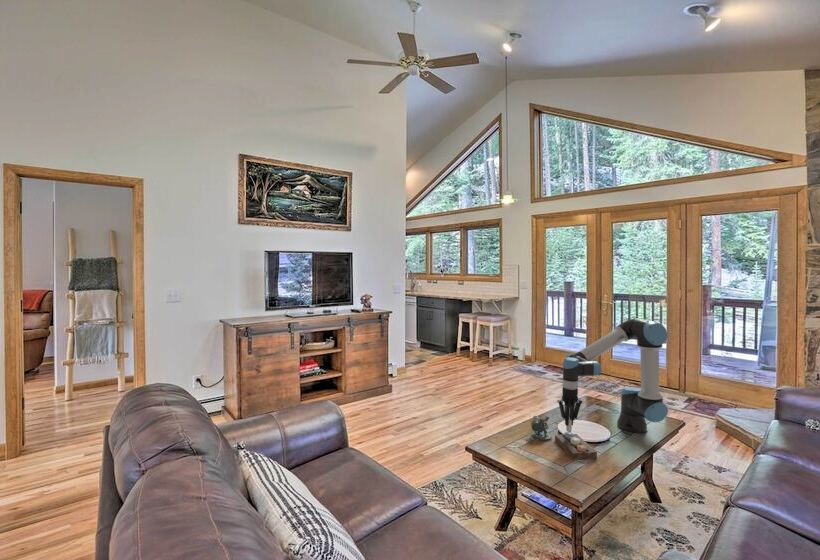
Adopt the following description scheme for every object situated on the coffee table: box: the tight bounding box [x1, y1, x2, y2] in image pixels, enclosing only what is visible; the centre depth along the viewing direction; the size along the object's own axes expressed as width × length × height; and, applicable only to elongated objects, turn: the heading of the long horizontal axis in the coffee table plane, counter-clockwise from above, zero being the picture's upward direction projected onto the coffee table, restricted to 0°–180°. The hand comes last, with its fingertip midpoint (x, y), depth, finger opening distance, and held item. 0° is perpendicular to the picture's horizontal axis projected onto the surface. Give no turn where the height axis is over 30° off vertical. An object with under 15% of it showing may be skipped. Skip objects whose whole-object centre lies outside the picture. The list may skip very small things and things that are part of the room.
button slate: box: [564, 431, 574, 440], centre depth 213 cm, size 4×4×3 cm
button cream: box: [570, 437, 580, 446], centre depth 206 cm, size 4×4×3 cm
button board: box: [554, 433, 598, 461], centre depth 207 cm, size 12×20×4 cm, turn 5°
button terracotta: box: [577, 445, 587, 452], centre depth 200 cm, size 4×4×3 cm
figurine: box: [530, 415, 553, 442], centre depth 221 cm, size 11×11×12 cm
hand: (568, 431), depth 213 cm, fingers closed
